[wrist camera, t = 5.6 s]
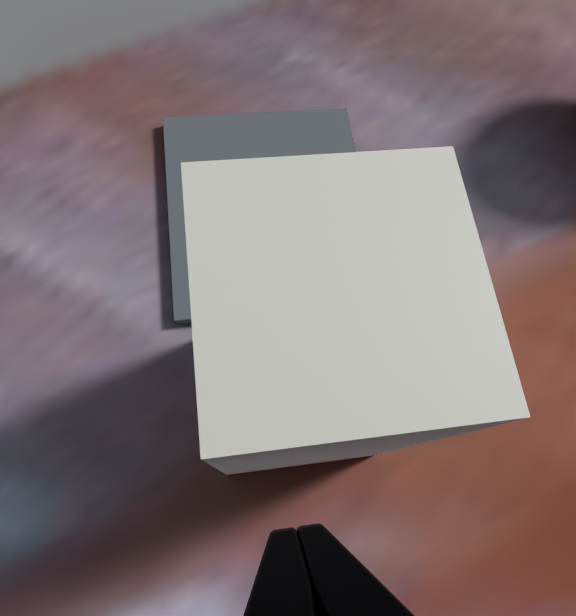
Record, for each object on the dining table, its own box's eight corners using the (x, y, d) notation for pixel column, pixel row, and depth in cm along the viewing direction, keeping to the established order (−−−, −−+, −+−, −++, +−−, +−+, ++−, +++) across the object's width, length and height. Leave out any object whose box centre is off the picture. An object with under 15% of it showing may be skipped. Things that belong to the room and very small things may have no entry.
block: (373, 455, 15) (530, 417, 7) (227, 474, 15) (199, 459, 6) (348, 318, 17) (452, 146, 8) (215, 331, 16) (180, 162, 8)
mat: (383, 304, 17) (386, 300, 17) (175, 324, 16) (173, 320, 16) (344, 115, 20) (346, 108, 19) (164, 124, 19) (162, 117, 18)
